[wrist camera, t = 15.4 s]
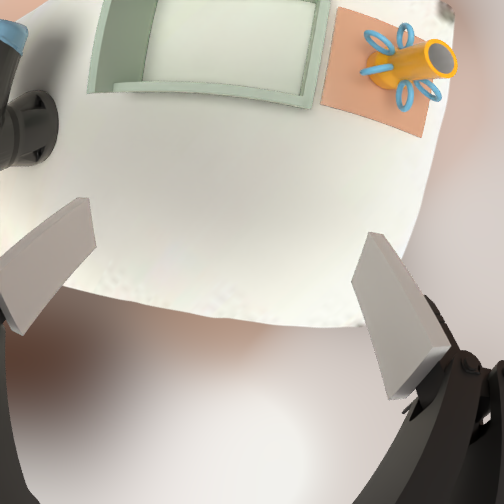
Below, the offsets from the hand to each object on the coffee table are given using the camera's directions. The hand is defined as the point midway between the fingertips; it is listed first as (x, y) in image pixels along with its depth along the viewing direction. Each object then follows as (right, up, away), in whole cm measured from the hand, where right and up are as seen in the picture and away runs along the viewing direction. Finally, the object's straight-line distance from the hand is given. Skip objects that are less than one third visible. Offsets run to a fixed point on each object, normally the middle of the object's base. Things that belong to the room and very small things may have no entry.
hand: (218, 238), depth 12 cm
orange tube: (+20, +25, +16) cm, 35 cm away
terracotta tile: (+20, +25, +17) cm, 36 cm away
